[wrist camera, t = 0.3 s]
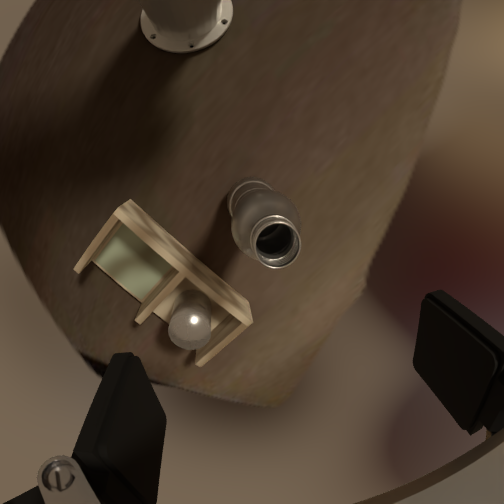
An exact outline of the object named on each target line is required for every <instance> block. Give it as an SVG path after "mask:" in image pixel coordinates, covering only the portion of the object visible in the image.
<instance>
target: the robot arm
mask: <svg viewBox="0 0 504 504" xmlns="http://www.w3.org/2000/svg"><path fill="white" fill-rule="evenodd" d="M138 1H139V3H140V5H141V6H142V8H143V10H142V13H141V20H140V24H141V28H142V31H143V33H144V35H145V37H146V38H147V39H148V41H149V42H150V43H151V44H153V45H154V46H155V47H157V48H159V49H161V50H164V51H167V52H172V53H189V52H195V51H198V50H201V49H204V48H206V47H208V46H210V45H212V44H213V43H215V42H216V41H218V40H219V39H220V38H221V37H222V36H223V35H224V34H225V33H226V31H227V30H228V28H229V26H230V24H231V21H232V17H233V5H232V1H231V0H138ZM223 23H226V24H225V25H224V24H223ZM154 37H156V38H155V39H153V38H154ZM190 46H194V47H193V48H190ZM413 366H414V368H415V370H416V371H417V373H418V374H419V375H420V376H421V377H422V379H423V380H424V381H425V382H426V383H427V385H428V386H429V387H430V389H431V390H432V391H433V392H434V394H435V395H436V396H437V397H438V399H439V400H440V401H441V403H442V404H443V405H444V407H445V408H446V409H447V410H448V412H449V413H450V414H451V415H452V417H453V418H454V419H455V421H456V422H457V423H458V425H459V426H460V427H461V428H462V429H463V430H467V431H468V433H469V434H470V435H472V434H474V433H475V432H477V431H478V430H480V429H482V427H483V425H484V426H485V427H486V429H487V430H486V440H485V441H484V442H482V443H481V444H479V445H478V446H476V447H475V448H473V449H472V450H470V451H468V452H467V453H465V454H463V455H462V456H460V457H458V458H457V459H455V460H453V461H451V462H449V463H447V464H446V465H444V466H442V467H440V468H438V469H436V470H434V471H432V472H430V473H428V474H426V475H424V476H422V477H420V478H418V479H416V480H413V481H411V482H409V483H407V484H405V485H402V486H400V487H397V488H395V489H393V490H390V491H388V492H385V493H383V494H380V495H377V496H375V497H372V498H369V499H366V500H363V501H360V502H357V503H354V504H504V336H503V335H502V334H500V333H499V332H498V331H497V330H495V329H494V328H493V327H492V326H490V325H489V324H488V323H486V322H485V321H484V320H483V319H481V318H480V317H478V316H477V315H476V314H475V313H473V312H472V311H471V310H469V309H468V308H467V307H465V306H464V305H462V304H461V303H460V302H458V301H457V300H456V299H454V298H453V297H451V296H450V295H449V294H447V293H446V292H444V291H443V290H437V291H434V292H431V293H428V294H426V296H425V299H423V301H422V303H421V311H420V319H419V326H418V333H417V339H416V346H415V352H414V357H413ZM165 430H166V415H165V413H164V410H163V408H162V406H161V404H160V402H159V400H158V398H157V396H156V394H155V392H154V390H153V387H152V385H151V383H150V381H149V378H148V376H147V374H146V372H145V369H144V367H143V365H142V362H141V360H140V358H139V357H138V356H134V355H133V353H131V352H126V353H115V354H114V355H113V356H112V358H111V361H110V363H109V365H108V367H107V369H106V372H105V374H104V376H103V378H102V381H101V383H100V385H99V388H98V390H97V393H96V395H95V397H94V399H93V402H92V404H91V407H90V409H89V412H88V414H87V416H86V419H85V421H84V424H83V427H82V429H81V432H80V434H79V437H78V439H77V442H76V445H75V448H74V450H73V454H72V457H68V456H64V455H63V456H55V457H52V458H50V459H49V460H47V461H45V462H44V464H43V465H42V466H41V467H40V469H39V471H38V475H37V481H38V486H36V487H34V488H32V489H30V490H29V491H27V492H25V493H23V494H21V495H19V496H17V497H15V498H13V499H11V500H9V501H7V502H5V503H3V504H156V502H157V495H158V486H159V485H158V484H159V477H160V468H161V460H162V452H163V445H164V437H165Z"/></svg>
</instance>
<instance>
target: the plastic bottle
mask: <svg viewBox="0 0 504 504" xmlns="http://www.w3.org/2000/svg"><path fill="white" fill-rule="evenodd" d="M227 208H228V211H229V214H230V216H231V217H232V220H231V231H232V236H233V239H234V241H235V243H236V245H237V246H238V248H239V249H240V250H241V251H242V252H243V253H244V254H246V255H247V256H249V257H250V258H253V259H255V260H258V261H260V262H261V263H262V264H263V265H264V266H266V267H268V268H272V269H282V268H285V267H288V266H289V265H291V264H292V263H293V262H294V261H295V260H296V259H297V257H298V255H299V253H300V250H301V239H300V233H301V218H300V215H299V211H298V209H297V208H296V206H295V204H294V203H293V202H292V201H291V200H290V199H289V198H288V197H287V196H285V195H284V194H282V193H279V192H277V191H274V189H273V187H272V186H271V185H270V184H269V183H268V182H266V181H265V180H263V179H261V178H257V177H247V178H244V179H241V180H240V181H238V182H236V183H235V184H234V185H233V187H232V188H231V190H230V192H229V194H228V198H227Z"/></svg>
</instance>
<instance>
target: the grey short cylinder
mask: <svg viewBox="0 0 504 504" xmlns="http://www.w3.org/2000/svg"><path fill="white" fill-rule="evenodd" d="M168 334H169V337H170V339H171V341H172V342H173V343H174V344H175V345H177V346H178V347H180V348H183V349H187V350H195V349H199V348H202V347H203V346H205V345H206V344H207V343H208V341H209V340H210V337H211V302H210V300H209V298H208V297H207V296H206V295H205V294H204V293H202V292H200V291H197V290H186V291H183V292H182V293H180V294H179V295H178V296H177V297H176V299H175V302H174V306H173V311H172V315H171V319H170V323H169V328H168Z"/></svg>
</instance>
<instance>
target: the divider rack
mask: <svg viewBox="0 0 504 504" xmlns="http://www.w3.org/2000/svg"><path fill="white" fill-rule="evenodd" d="M91 261H93V262H94V263H95V264H96V265H97V266H99V267H100V268H101V269H102V270H103V271H104V272H105V273H107V274H108V275H109V276H110V277H111V278H112V279H114V280H115V281H116V282H117V283H118V284H119V285H121V286H122V287H123V288H124V289H125V290H127V291H128V292H129V293H130V294H131V295H133V296H134V297H135V298H136V299H138V300H139V301H140V302H141V303H142V304H141V306H140V309H139V311H138V314H137V316H136V318H135V321H136V322H137V323H139V324H140V325H141V323H142V322H143V321H144V320H145V319H146V318H147V317H148V316H149V315H150V314H151V313H152V312H154V313H155V314H157V315H158V316H159V317H161V318H162V319H163V320H164V321H166V322H167V323H168V324H169V323H170V319H171V315H172V311H173V306H174V302H175V299H176V297H177V296H178V295H179V294H180V293H182V292H183V291H186V290H197V291H200V292H202V293H204V294H205V295H206V296H207V297H208V298H209V300H210V302H211V337H210V340H209V341H208V343H207V344H206V345H205V346H203V347H202V348H199V349H196V360H195V364H196V365H198V366H199V367H201V366H203V365H204V364H205V363H206V362H207V361H209V360H210V359H211V358H212V357H213V356H215V355H216V354H217V353H218V352H219V351H220V350H222V349H223V348H224V347H225V346H226V345H227V344H229V343H230V342H231V341H232V340H233V339H234V338H236V337H237V336H238V335H239V334H240V333H241V332H242V331H244V330H245V329H246V328H247V327H248V326H249V325H250V324H252V323H253V320H252V315H251V310H250V305H249V302H248V301H247V300H246V299H245V298H244V297H242V296H241V295H240V294H239V293H238V292H236V291H235V290H234V289H233V288H232V287H230V286H229V285H228V284H227V283H226V282H224V281H223V280H222V279H221V278H220V277H219V276H217V275H216V274H215V273H214V272H213V271H212V270H210V269H209V268H208V267H207V266H206V265H204V264H203V263H202V262H201V261H200V260H199V259H198V258H196V257H195V256H194V255H193V254H192V253H191V252H189V251H188V250H187V249H186V248H185V247H184V246H183V245H181V244H180V243H179V242H178V241H177V240H176V239H175V238H173V237H172V236H171V235H170V234H169V233H168V232H167V231H166V230H164V229H163V228H162V227H161V226H160V225H159V224H158V223H157V222H155V221H154V220H153V219H152V218H151V217H150V216H149V215H148V214H147V213H145V212H144V211H143V210H142V209H141V208H140V207H139V206H138V205H137V204H136V203H134V202H133V201H132V200H131V199H130V200H129V201H127V202H125V203H124V204H122V205H121V206H119V207H118V208H117V209H116V210H115V212H114V213H113V214H112V216H111V217H110V218H109V220H108V221H107V222H106V224H105V225H104V226H103V228H102V229H101V230H100V232H99V233H98V234H97V236H96V237H95V239H94V240H93V241H92V243H91V244H90V246H89V247H88V248H87V250H86V251H85V253H84V254H83V256H82V257H81V259H80V260H79V262H78V263H77V265H76V266H75V268H74V270H75V271H76V272H77V273H78V274H79V273H80V272H81V271H82V270H83V269H84V268H85V267H86V266H87V265H88V264H89V263H90V262H91Z"/></svg>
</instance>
